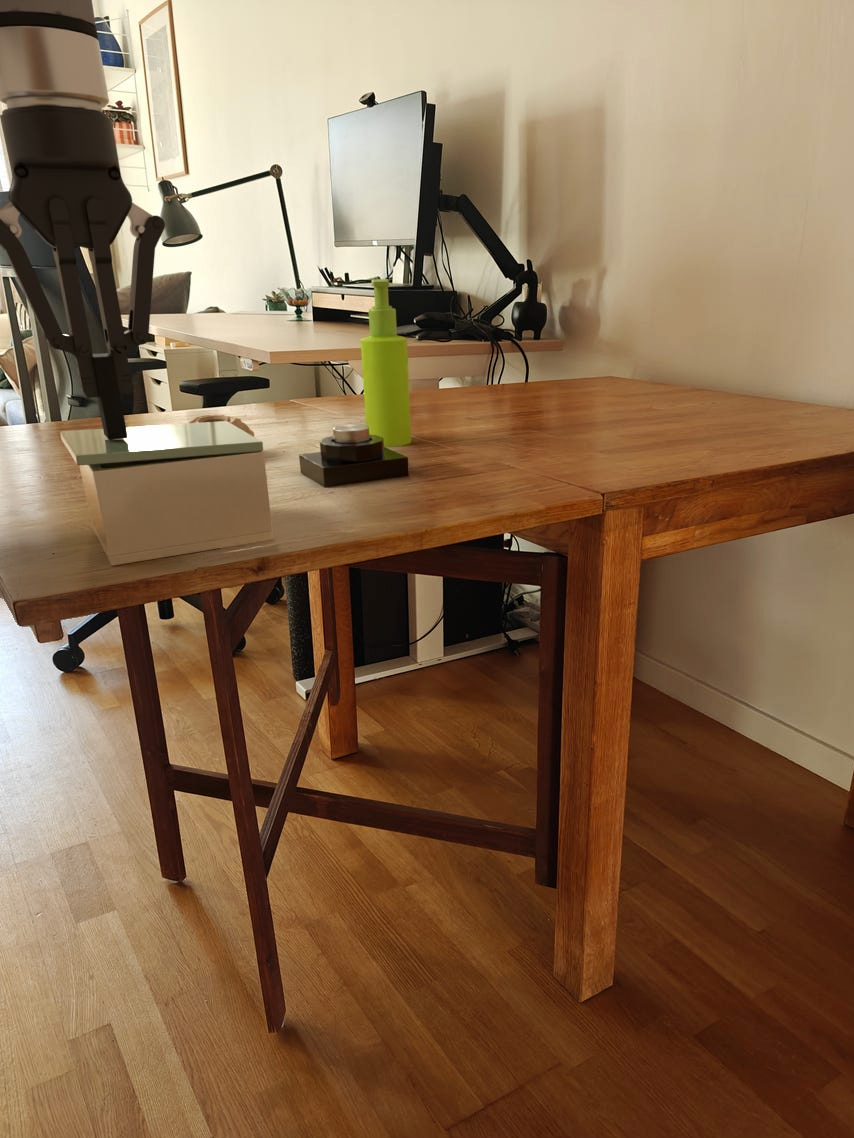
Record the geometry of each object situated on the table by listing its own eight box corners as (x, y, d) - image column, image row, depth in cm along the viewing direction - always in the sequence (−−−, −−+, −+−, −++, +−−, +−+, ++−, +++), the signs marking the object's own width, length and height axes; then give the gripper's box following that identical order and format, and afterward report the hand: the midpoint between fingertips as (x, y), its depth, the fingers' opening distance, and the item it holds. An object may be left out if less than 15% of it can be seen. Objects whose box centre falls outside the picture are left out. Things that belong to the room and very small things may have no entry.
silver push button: (341, 448, 94) (340, 432, 93) (328, 442, 97) (327, 426, 97) (375, 444, 96) (374, 428, 95) (361, 438, 99) (360, 422, 98)
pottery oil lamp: (138, 466, 101) (135, 407, 102) (225, 481, 111) (221, 427, 111) (181, 447, 96) (177, 385, 97) (268, 465, 106) (264, 408, 106)
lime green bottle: (408, 435, 119) (401, 278, 110) (413, 445, 112) (406, 279, 104) (365, 437, 118) (355, 278, 109) (368, 448, 111) (357, 280, 103)
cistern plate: (324, 488, 93) (321, 451, 91) (300, 473, 99) (297, 438, 97) (408, 476, 97) (407, 440, 96) (380, 462, 104) (378, 429, 102)
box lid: (77, 465, 67) (75, 455, 66) (61, 440, 76) (59, 431, 75) (263, 451, 73) (262, 441, 73) (228, 429, 82) (227, 420, 82)
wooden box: (111, 566, 70) (92, 471, 67) (92, 530, 80) (75, 445, 76) (273, 539, 76) (263, 451, 73) (238, 509, 86) (228, 429, 82)
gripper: (139, 120, 69) (185, 421, 78) (-48, 110, 63) (27, 437, 73) (158, 107, 63) (204, 435, 72) (-47, 95, 57) (34, 453, 67)
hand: (115, 435), depth 72 cm, fingers closed
